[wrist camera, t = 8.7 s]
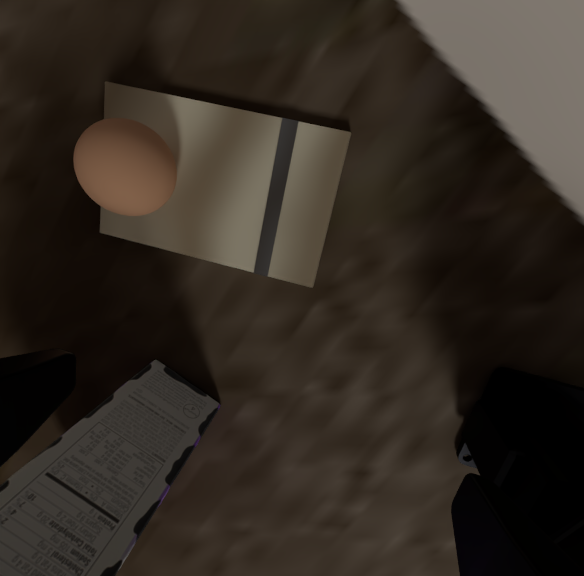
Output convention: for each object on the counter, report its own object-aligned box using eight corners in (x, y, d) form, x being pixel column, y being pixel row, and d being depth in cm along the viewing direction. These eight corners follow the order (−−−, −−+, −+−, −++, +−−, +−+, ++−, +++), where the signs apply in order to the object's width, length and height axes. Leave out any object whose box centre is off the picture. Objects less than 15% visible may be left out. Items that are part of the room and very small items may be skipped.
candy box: (145, 518, 26) (-154, 990, 11) (83, 478, 26) (-307, 893, 11) (225, 403, 22) (-83, 917, 6) (152, 354, 22) (-342, 751, 6)
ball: (196, 137, 17) (151, 119, 13) (186, 221, 18) (143, 229, 14) (116, 119, 17) (46, 96, 13) (112, 203, 19) (48, 207, 14)
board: (351, 134, 16) (351, 132, 16) (313, 285, 19) (312, 288, 18) (113, 84, 18) (103, 80, 17) (107, 231, 20) (98, 233, 19)
